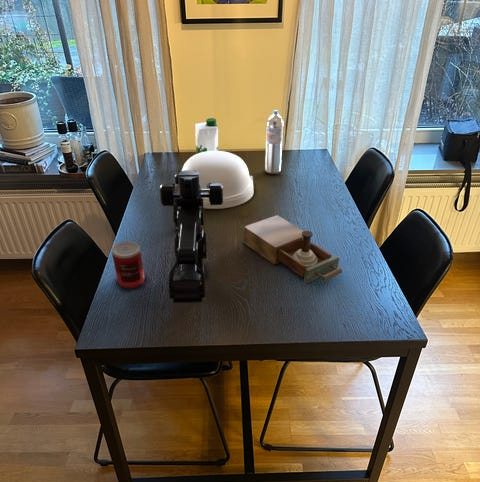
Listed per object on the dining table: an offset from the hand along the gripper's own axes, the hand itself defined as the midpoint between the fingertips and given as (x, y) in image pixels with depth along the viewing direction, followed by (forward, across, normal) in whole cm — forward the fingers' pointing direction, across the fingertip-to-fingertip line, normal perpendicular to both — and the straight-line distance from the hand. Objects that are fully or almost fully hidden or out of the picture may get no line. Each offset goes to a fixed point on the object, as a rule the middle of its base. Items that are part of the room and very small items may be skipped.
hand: (192, 184), depth 144 cm
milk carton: (+55, -4, +14) cm, 57 cm away
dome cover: (+31, -7, +15) cm, 35 cm away
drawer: (-25, -35, +17) cm, 46 cm away
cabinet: (-11, -26, +17) cm, 33 cm away
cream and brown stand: (-23, -33, +16) cm, 43 cm away
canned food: (-28, +18, +18) cm, 38 cm away
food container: (+4, +3, +11) cm, 12 cm away
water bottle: (+50, -31, +15) cm, 60 cm away
